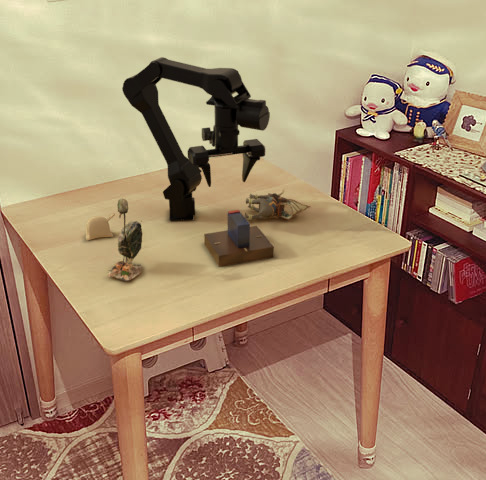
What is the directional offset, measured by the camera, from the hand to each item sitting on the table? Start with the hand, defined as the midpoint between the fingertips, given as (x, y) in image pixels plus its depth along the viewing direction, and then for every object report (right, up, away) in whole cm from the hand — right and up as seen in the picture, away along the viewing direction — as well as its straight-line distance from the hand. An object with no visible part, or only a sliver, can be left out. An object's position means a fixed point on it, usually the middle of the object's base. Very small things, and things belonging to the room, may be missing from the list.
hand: (226, 184), depth 183 cm
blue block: (+3, -15, -6) cm, 17 cm away
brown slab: (+3, -18, -5) cm, 18 cm away
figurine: (+14, -7, +11) cm, 19 cm away
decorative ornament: (-33, -13, +4) cm, 35 cm away
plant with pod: (-24, -23, -12) cm, 35 cm away
